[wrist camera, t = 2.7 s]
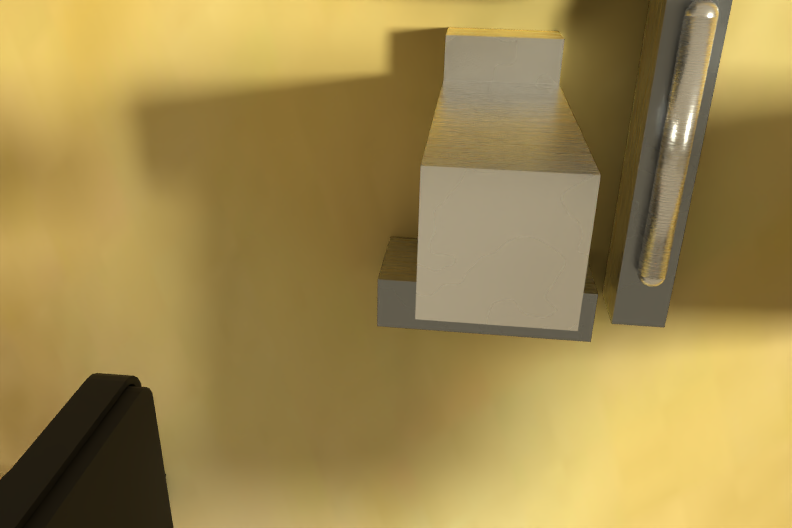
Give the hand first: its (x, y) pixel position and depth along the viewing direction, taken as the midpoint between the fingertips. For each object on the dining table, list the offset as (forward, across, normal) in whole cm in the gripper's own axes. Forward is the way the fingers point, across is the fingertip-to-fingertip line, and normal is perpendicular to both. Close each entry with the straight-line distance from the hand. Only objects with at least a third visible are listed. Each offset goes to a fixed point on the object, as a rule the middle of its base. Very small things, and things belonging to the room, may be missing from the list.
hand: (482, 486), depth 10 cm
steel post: (+20, -1, 0) cm, 20 cm away
